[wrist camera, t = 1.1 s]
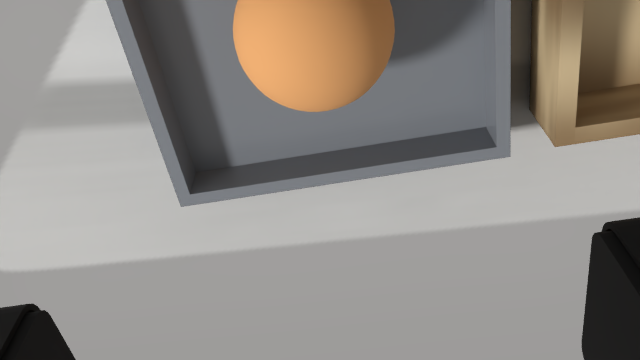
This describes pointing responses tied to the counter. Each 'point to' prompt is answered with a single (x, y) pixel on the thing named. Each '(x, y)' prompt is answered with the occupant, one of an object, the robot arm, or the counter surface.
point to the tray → (585, 69)
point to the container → (327, 126)
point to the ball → (313, 49)
